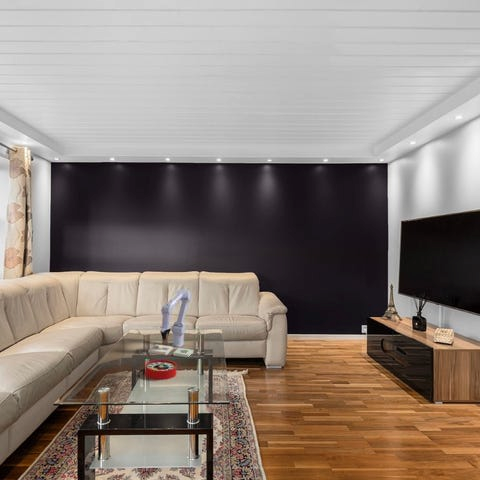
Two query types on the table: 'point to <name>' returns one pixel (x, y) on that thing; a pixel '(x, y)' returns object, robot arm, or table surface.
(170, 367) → the toy clock
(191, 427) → the table surface
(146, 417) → the table surface
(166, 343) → the peg
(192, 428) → the table surface
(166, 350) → the socket block
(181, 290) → the robot arm
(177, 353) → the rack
